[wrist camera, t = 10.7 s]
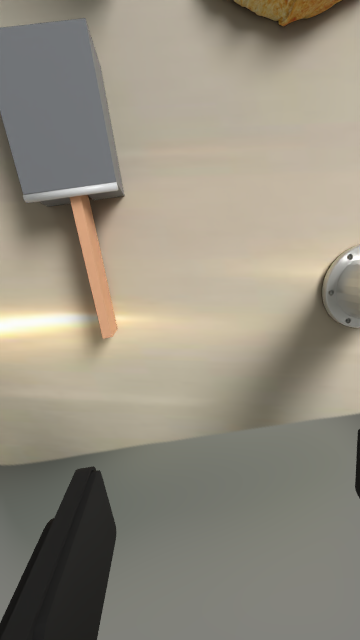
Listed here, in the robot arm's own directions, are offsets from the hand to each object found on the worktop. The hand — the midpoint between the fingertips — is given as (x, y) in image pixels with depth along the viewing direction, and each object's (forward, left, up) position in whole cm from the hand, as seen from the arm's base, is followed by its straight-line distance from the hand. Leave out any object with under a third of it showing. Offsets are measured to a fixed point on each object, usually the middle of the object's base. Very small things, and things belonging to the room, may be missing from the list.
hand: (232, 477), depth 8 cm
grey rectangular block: (+10, -24, -28) cm, 38 cm away
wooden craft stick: (+10, -9, -27) cm, 30 cm away
